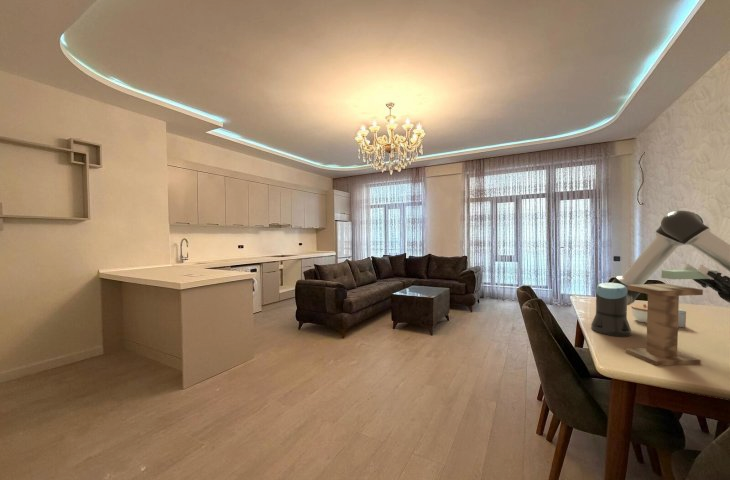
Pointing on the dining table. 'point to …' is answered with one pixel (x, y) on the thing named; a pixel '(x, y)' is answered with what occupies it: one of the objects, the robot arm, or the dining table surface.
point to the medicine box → (681, 318)
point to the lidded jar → (640, 312)
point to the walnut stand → (663, 324)
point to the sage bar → (683, 274)
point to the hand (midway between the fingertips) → (692, 267)
